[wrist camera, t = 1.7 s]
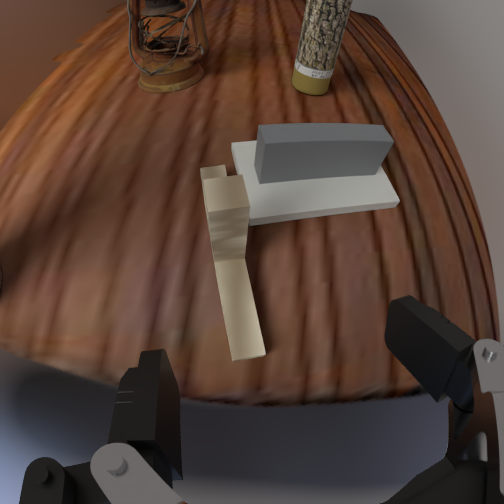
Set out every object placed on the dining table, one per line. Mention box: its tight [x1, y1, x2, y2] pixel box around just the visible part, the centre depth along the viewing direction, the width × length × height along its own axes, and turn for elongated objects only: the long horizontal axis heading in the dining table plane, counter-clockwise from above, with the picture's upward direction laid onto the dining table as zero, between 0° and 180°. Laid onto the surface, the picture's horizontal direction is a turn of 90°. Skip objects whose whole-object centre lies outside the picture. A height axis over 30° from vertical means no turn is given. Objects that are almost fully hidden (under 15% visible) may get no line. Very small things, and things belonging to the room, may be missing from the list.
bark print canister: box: [292, 0, 352, 95], centre depth 35 cm, size 7×7×25 cm
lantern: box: [127, 0, 209, 93], centre depth 32 cm, size 17×13×30 cm
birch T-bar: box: [200, 165, 266, 362], centre depth 26 cm, size 3×22×11 cm, turn 12°
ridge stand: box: [231, 123, 400, 226], centre depth 32 cm, size 20×12×8 cm, turn 102°
